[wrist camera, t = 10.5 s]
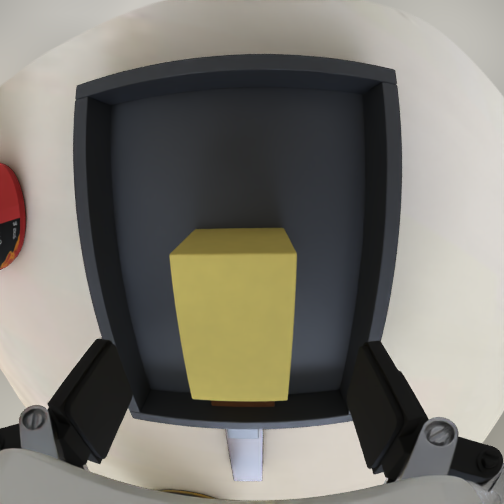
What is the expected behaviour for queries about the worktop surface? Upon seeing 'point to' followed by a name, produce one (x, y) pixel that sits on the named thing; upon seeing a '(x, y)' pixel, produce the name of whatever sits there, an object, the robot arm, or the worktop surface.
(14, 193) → the canned food
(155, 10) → the worktop surface
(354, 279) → the pan
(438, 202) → the worktop surface
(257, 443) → the pan handle
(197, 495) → the apothecary jar
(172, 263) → the sponge
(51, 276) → the worktop surface
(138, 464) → the worktop surface
